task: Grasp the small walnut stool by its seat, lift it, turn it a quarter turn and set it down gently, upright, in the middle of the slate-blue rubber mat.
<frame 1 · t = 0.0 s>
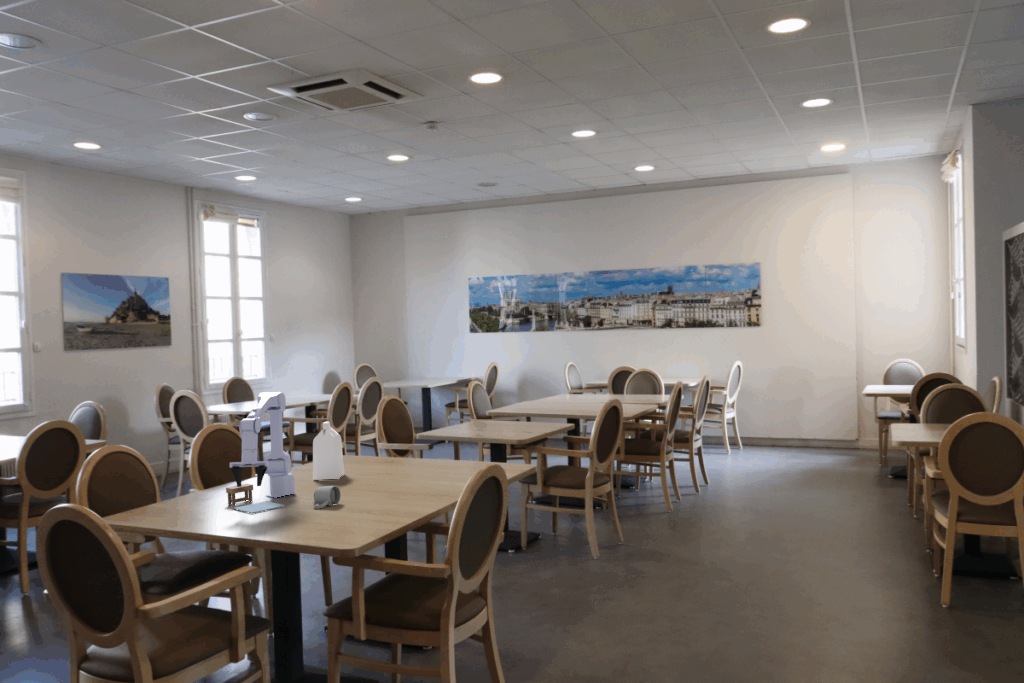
hand: (249, 486, 289), 11 cm above the table, tool pointing down, fingers open, 7 cm apart
ceramic mug: (325, 506, 297), on the table
mat: (259, 508, 299), on the table
milk: (328, 478, 357), on the table
stool: (240, 503, 309), on the table
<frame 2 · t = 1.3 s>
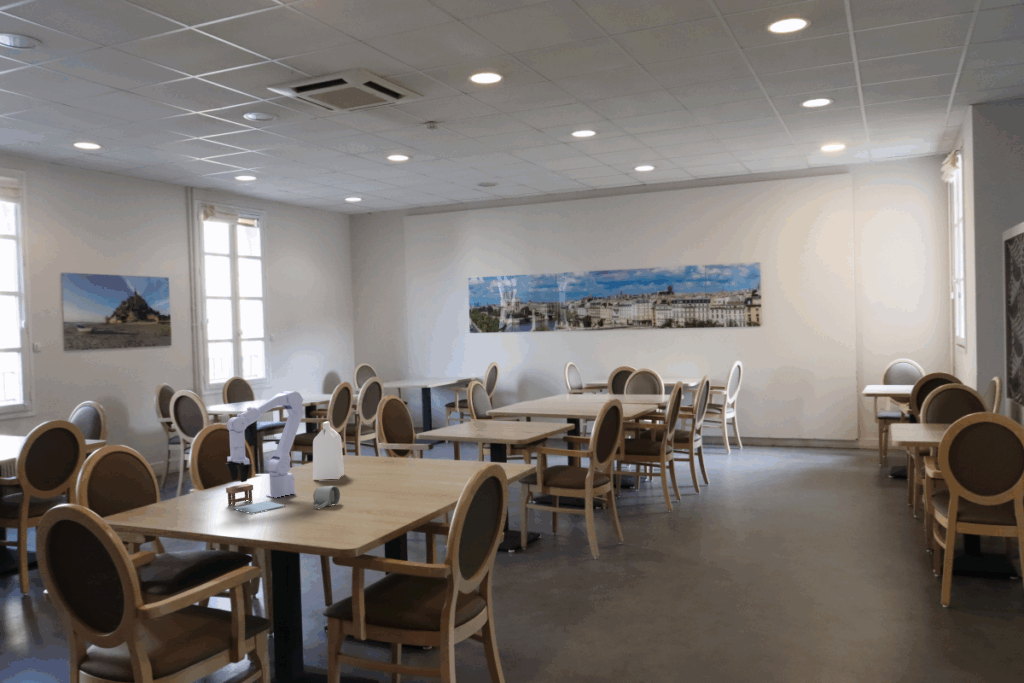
hand: (239, 480, 308), 9 cm above the table, tool pointing down, fingers open, 7 cm apart
nothing on the table moved.
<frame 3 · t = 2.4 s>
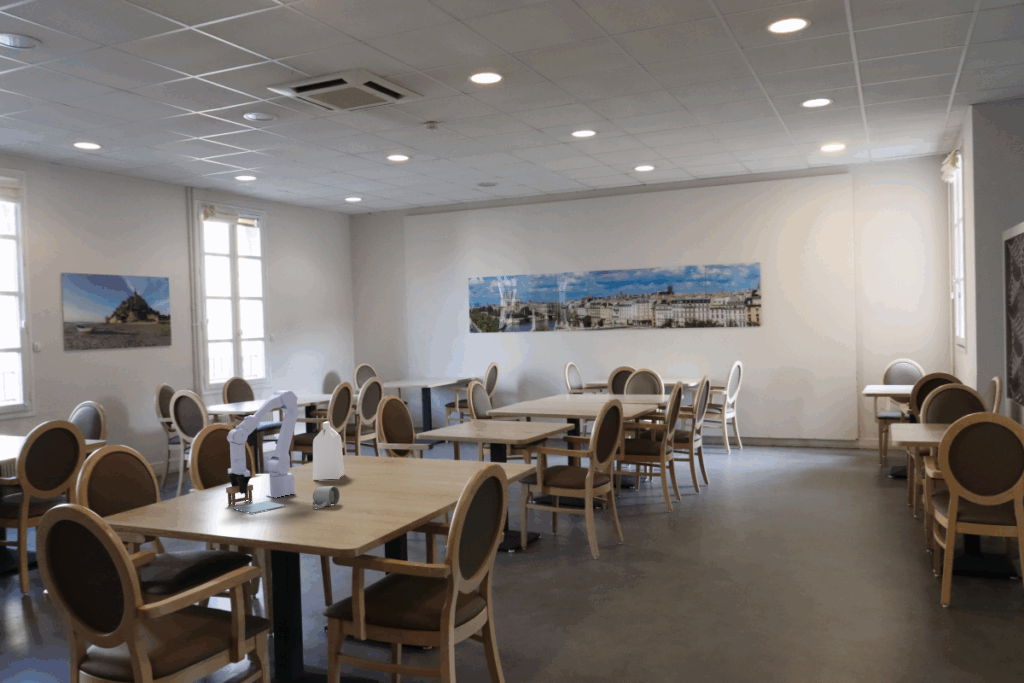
hand: (239, 492, 309), 4 cm above the table, tool pointing down, fingers closed on stool, 5 cm apart
stool: (240, 503, 309), on the table, touching gripper
everything else where it was.
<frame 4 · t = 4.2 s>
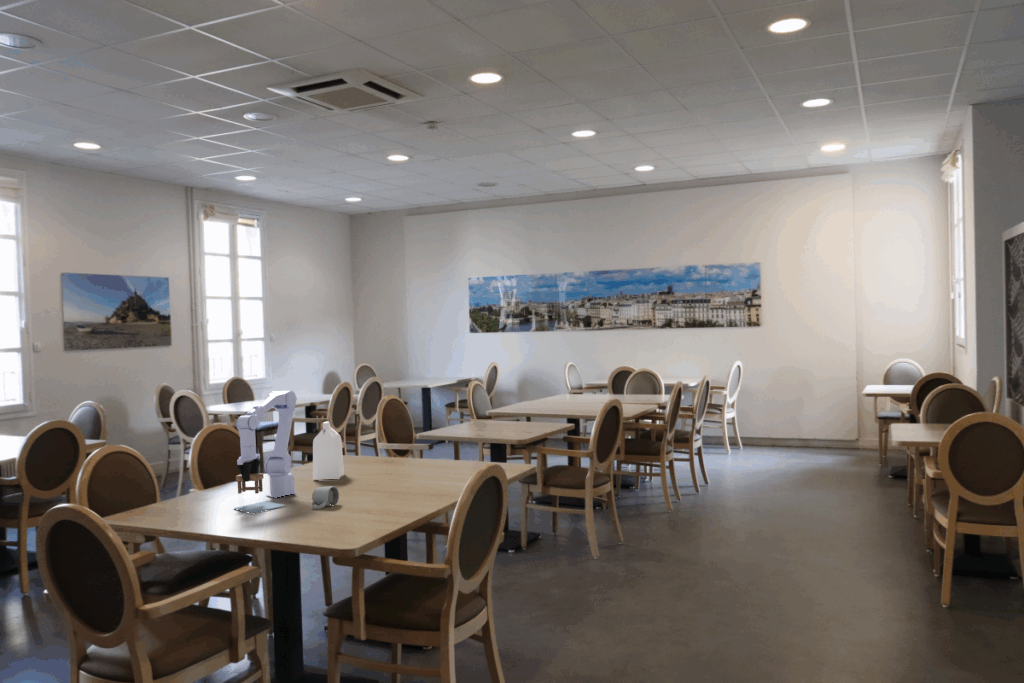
hand: (249, 479, 303), 10 cm above the table, tool pointing down, fingers closed on stool, 5 cm apart
stool: (250, 492, 303), point 6 cm above the table, touching gripper
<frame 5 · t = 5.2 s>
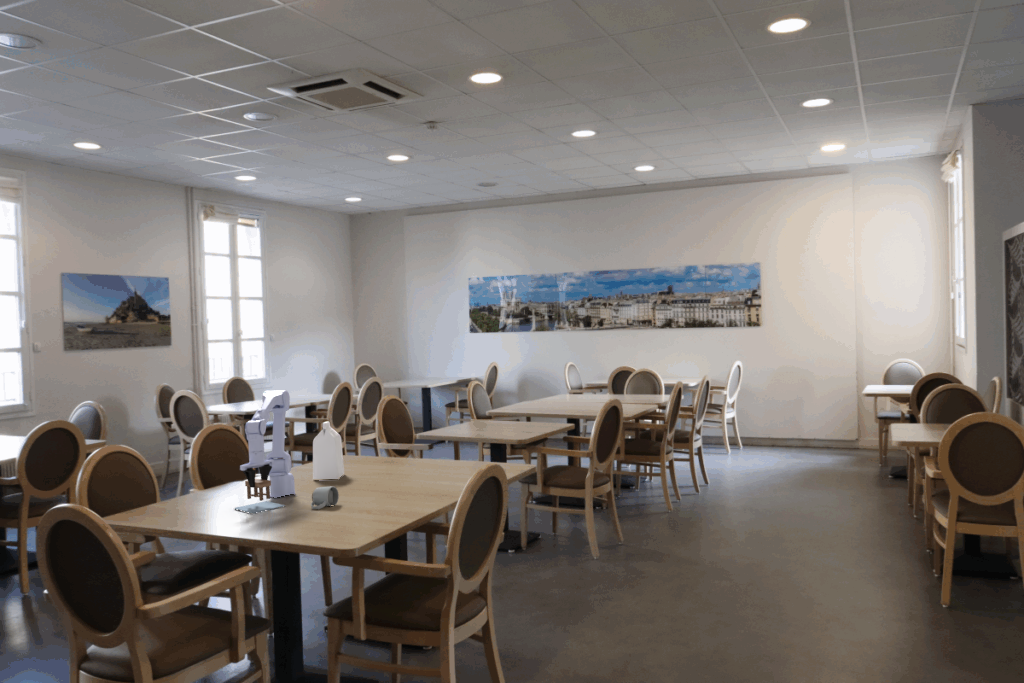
hand: (258, 485, 298), 9 cm above the table, tool pointing down, fingers closed on stool, 5 cm apart
stool: (258, 498, 298), point 4 cm above the table, touching gripper
when the fingers open (6 cm above the table, at t = 6.2 s): stool stays where it is, resting on mat.
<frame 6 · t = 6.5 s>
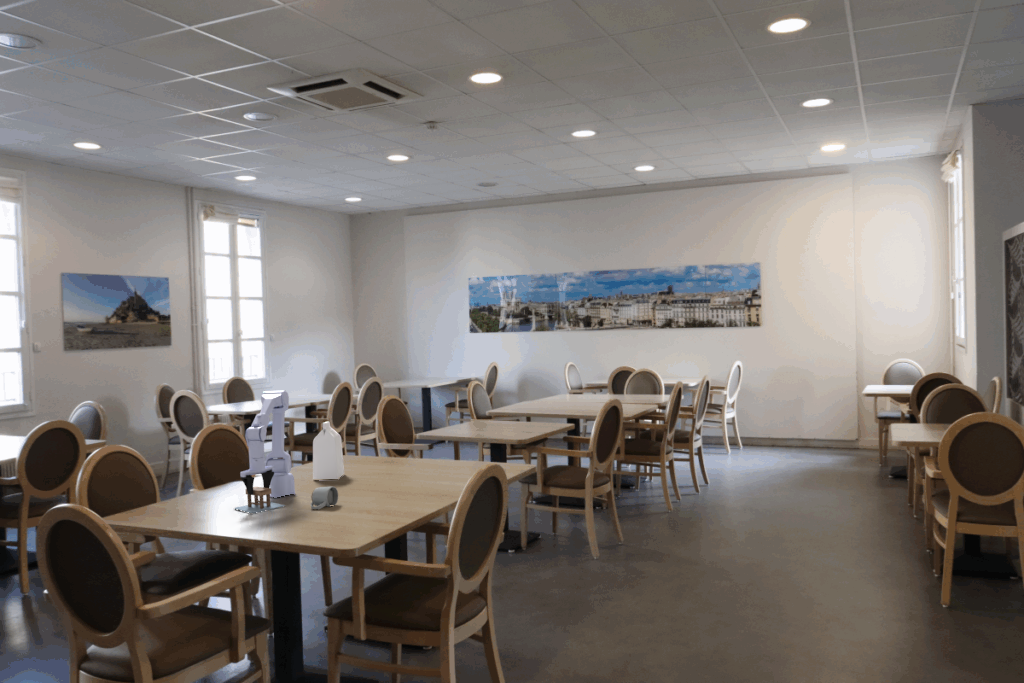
hand: (258, 492, 298), 6 cm above the table, tool pointing down, fingers open, 7 cm apart
stool: (259, 506, 299), point 1 cm above the table, touching mat
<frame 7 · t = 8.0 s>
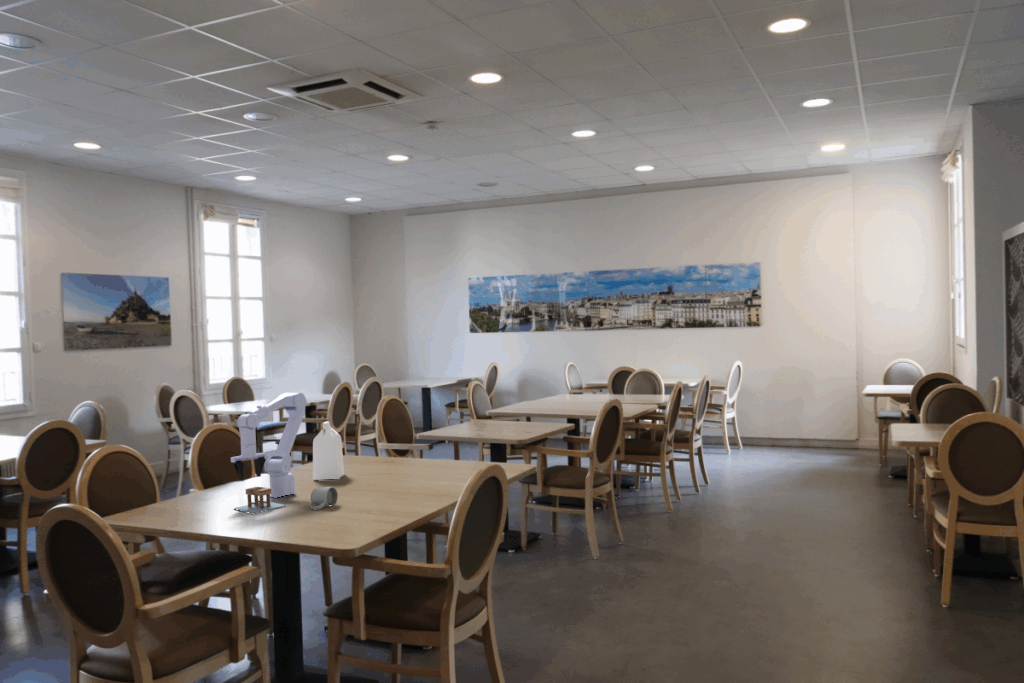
hand: (249, 477, 308), 10 cm above the table, tool pointing down, fingers open, 7 cm apart
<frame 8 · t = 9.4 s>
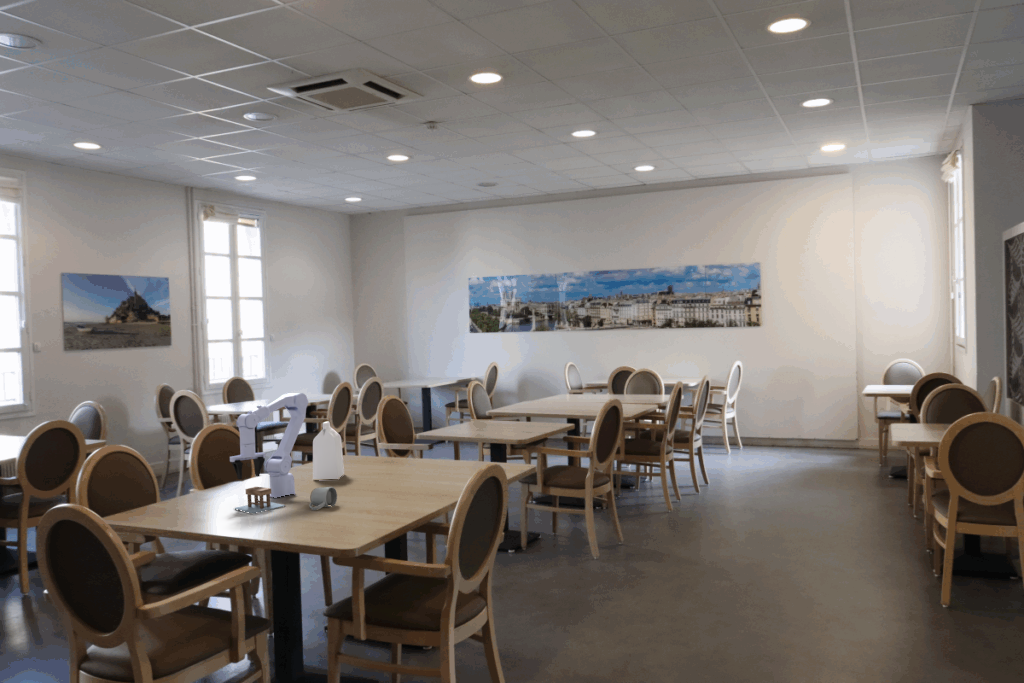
hand: (248, 477, 308), 10 cm above the table, tool pointing down, fingers open, 7 cm apart
at the end: stool 0.1 cm off-centre on the mat, point 0.6 cm above the mat's base; stool tilted 0°; the gripper is holding nothing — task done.
